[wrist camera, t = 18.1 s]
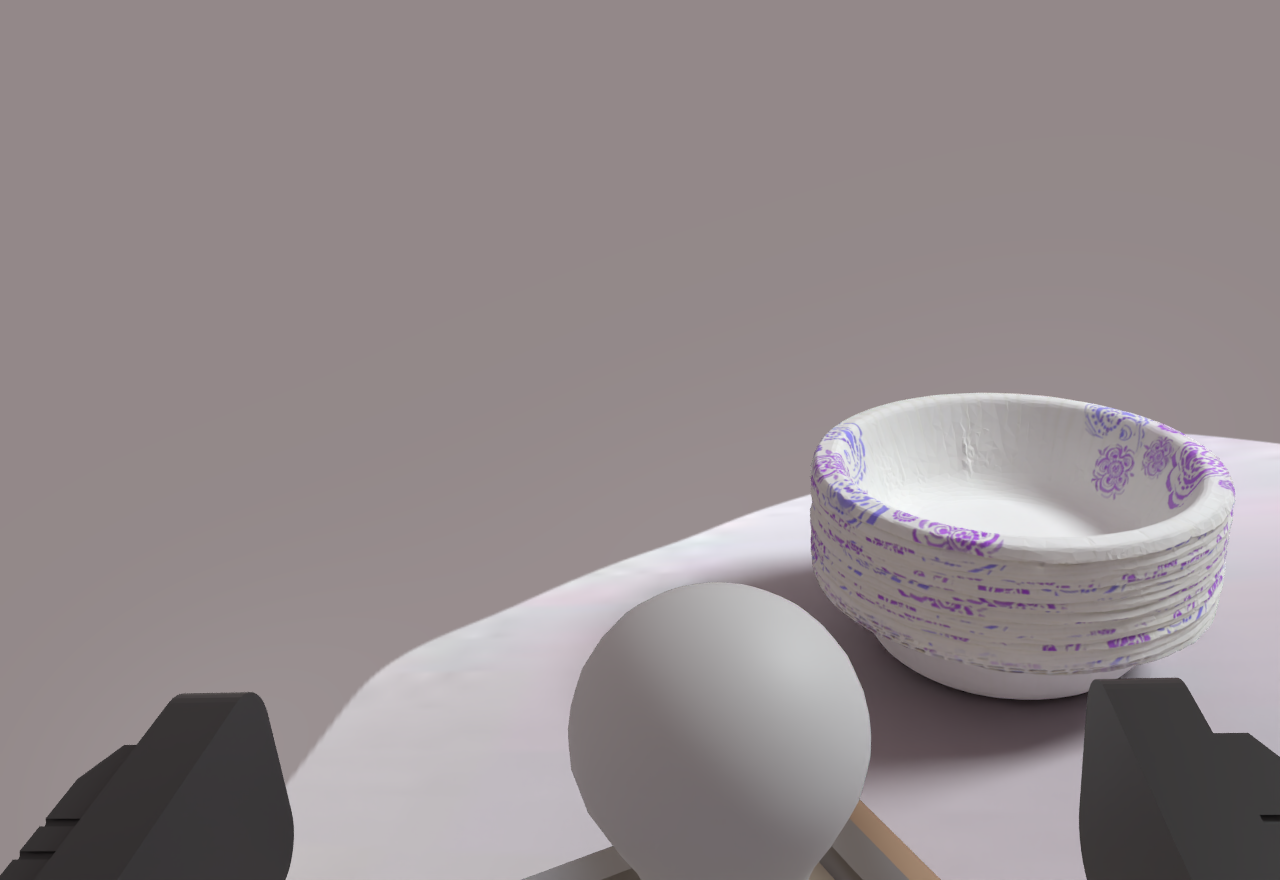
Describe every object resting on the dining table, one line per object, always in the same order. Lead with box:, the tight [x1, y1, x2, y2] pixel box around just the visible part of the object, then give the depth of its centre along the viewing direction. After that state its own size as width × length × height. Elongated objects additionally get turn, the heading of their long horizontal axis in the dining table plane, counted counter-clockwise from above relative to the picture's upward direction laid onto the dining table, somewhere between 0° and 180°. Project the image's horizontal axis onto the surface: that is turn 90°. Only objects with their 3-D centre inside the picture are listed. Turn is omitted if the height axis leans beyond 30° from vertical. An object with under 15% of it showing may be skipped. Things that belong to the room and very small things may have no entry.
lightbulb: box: [568, 582, 871, 880], centre depth 25 cm, size 6×6×11 cm
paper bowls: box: [810, 393, 1235, 700], centre depth 47 cm, size 15×15×8 cm
